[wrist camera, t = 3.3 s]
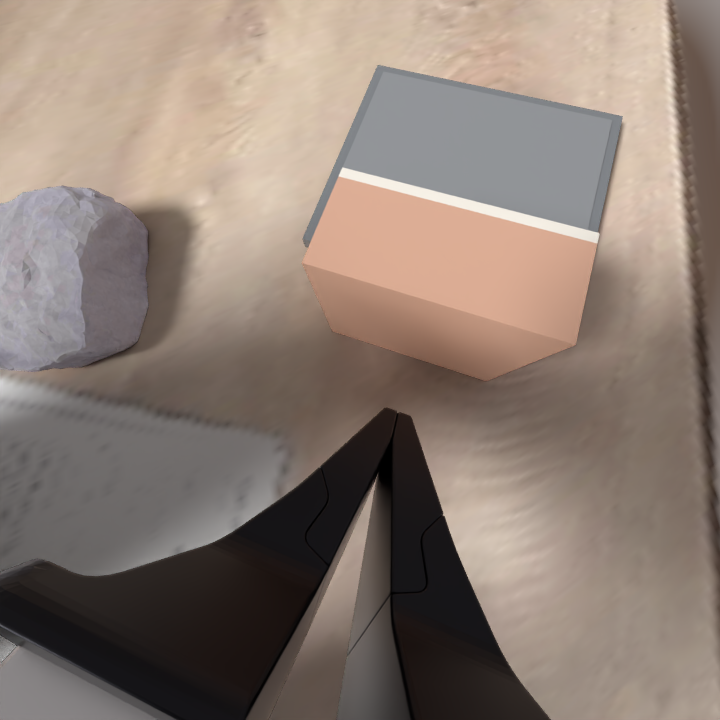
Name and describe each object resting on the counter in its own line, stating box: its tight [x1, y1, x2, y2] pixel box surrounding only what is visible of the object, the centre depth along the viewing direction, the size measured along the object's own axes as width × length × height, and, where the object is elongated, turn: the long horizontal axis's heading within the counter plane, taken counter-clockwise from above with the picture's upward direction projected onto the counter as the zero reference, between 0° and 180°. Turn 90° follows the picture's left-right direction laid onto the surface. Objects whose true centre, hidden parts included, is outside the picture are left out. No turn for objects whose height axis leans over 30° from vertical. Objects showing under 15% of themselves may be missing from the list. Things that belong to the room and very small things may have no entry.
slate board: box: [303, 65, 623, 247], centre depth 19 cm, size 14×16×1 cm
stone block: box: [0, 186, 149, 372], centre depth 18 cm, size 12×5×10 cm
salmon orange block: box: [302, 167, 600, 381], centre depth 14 cm, size 4×9×8 cm, turn 71°
